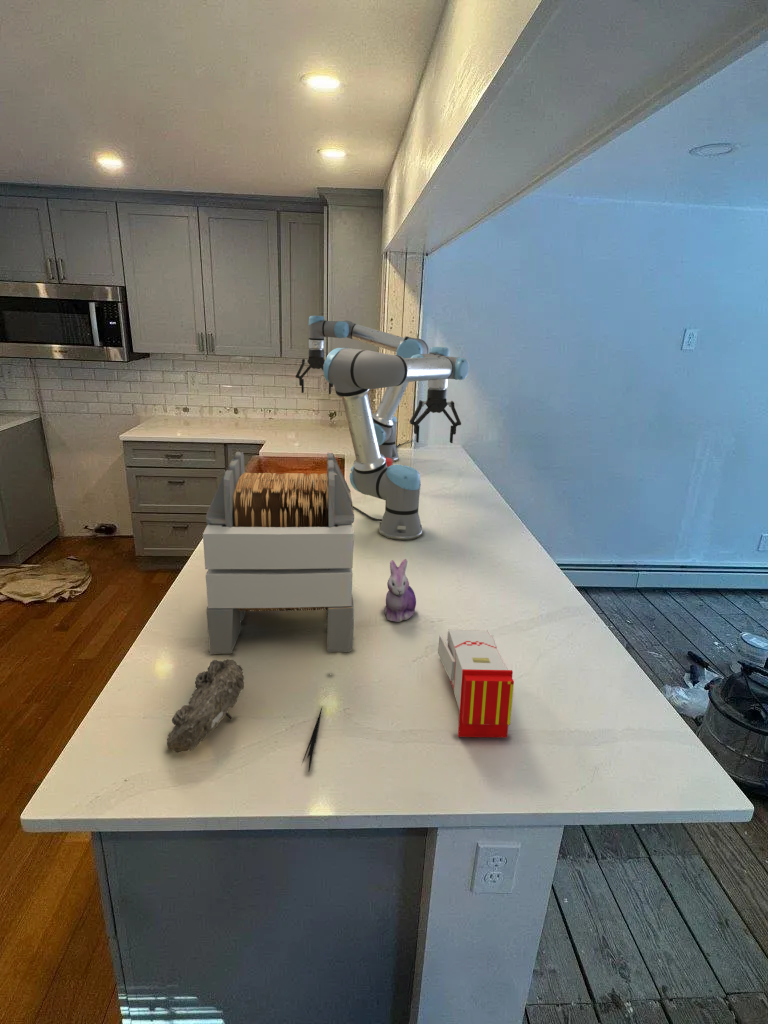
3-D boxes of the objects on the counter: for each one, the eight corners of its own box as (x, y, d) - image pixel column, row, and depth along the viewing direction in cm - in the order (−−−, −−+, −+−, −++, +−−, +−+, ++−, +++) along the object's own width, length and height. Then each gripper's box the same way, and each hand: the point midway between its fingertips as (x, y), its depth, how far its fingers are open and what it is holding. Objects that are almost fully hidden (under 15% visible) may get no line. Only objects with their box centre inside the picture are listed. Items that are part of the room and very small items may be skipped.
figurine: (392, 627, 141) (395, 572, 136) (374, 608, 149) (376, 556, 144) (425, 619, 145) (429, 566, 140) (405, 601, 154) (408, 550, 149)
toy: (488, 613, 130) (523, 677, 101) (484, 667, 133) (517, 744, 104) (435, 612, 130) (455, 676, 101) (432, 666, 133) (451, 743, 103)
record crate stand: (229, 585, 158) (221, 442, 144) (346, 584, 161) (350, 444, 148) (206, 656, 126) (193, 481, 112) (353, 652, 130) (358, 483, 116)
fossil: (192, 660, 117) (244, 628, 112) (224, 691, 120) (276, 661, 115) (142, 746, 98) (202, 712, 93) (182, 779, 101) (242, 748, 96)
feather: (331, 679, 122) (336, 673, 122) (307, 777, 96) (313, 769, 95) (324, 675, 122) (329, 669, 121) (298, 772, 95) (304, 764, 95)
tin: (372, 481, 259) (373, 457, 255) (387, 480, 262) (388, 456, 258) (378, 486, 252) (379, 462, 249) (394, 484, 255) (395, 461, 251)
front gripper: (467, 387, 223) (463, 440, 231) (404, 386, 222) (402, 439, 230) (471, 390, 216) (466, 444, 224) (406, 389, 215) (403, 443, 223)
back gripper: (289, 348, 273) (290, 393, 280) (341, 350, 273) (340, 395, 280) (292, 347, 280) (292, 390, 287) (342, 349, 280) (341, 393, 287)
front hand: (434, 442), depth 227 cm, fingers open, 13 cm apart
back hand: (316, 393), depth 284 cm, fingers open, 13 cm apart
